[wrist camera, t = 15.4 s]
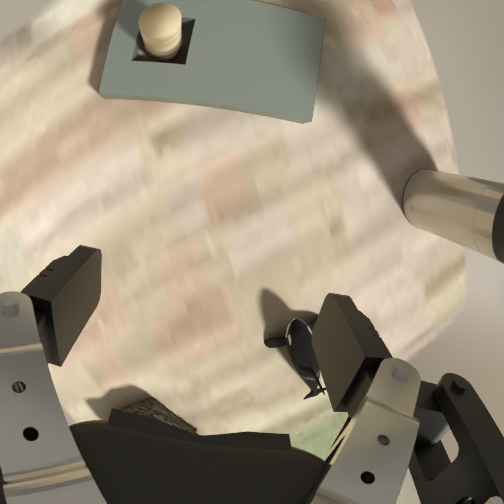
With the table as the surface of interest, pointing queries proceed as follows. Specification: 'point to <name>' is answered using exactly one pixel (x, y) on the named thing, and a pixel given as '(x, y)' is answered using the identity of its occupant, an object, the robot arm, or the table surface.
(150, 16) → the peg
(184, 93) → the board
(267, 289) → the table surface
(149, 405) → the rock
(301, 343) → the toy
